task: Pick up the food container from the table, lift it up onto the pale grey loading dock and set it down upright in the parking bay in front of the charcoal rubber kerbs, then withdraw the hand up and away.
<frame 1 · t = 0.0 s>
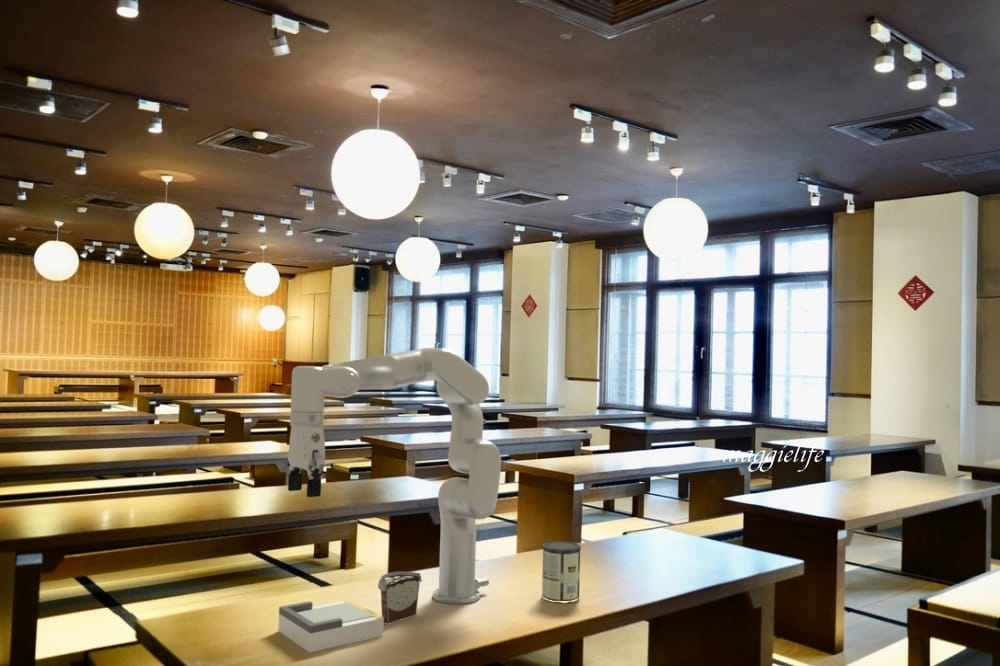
hand: (304, 493, 179), 31 cm above the table, tool pointing down, fingers open, 9 cm apart
loading dock: (330, 633, 176), on the table
coffee can: (560, 598, 208), on the table
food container: (393, 617, 189), on the table
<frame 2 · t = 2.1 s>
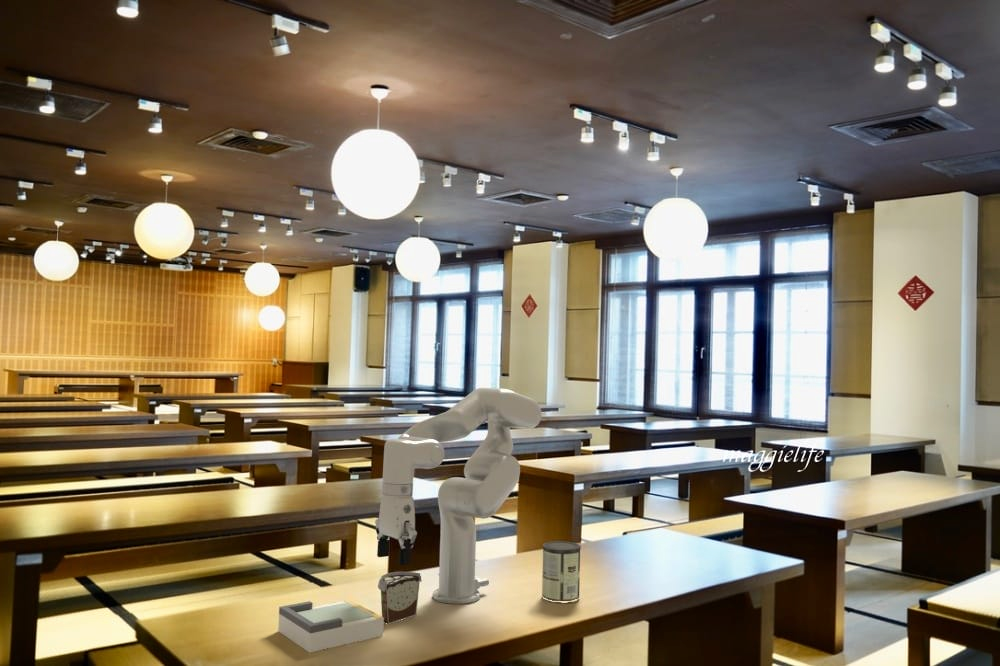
hand: (393, 560, 189), 14 cm above the table, tool pointing down, fingers open, 9 cm apart
nothing on the table moved.
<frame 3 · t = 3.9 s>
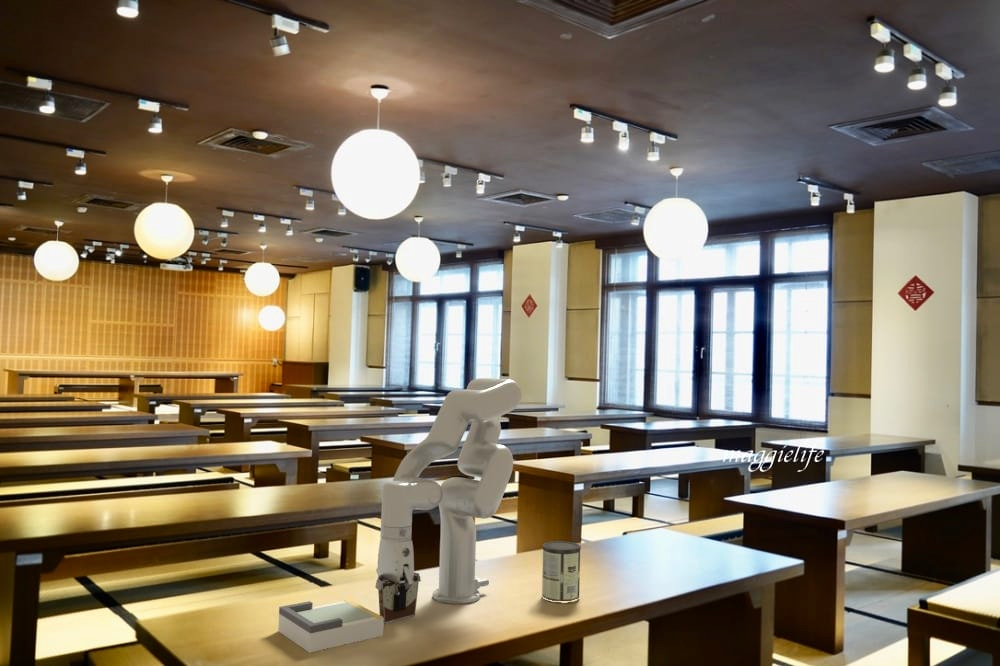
hand: (392, 606, 189), 2 cm above the table, tool pointing down, fingers closed on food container, 5 cm apart
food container: (392, 617, 189), on the table, touching gripper
everything else where it was.
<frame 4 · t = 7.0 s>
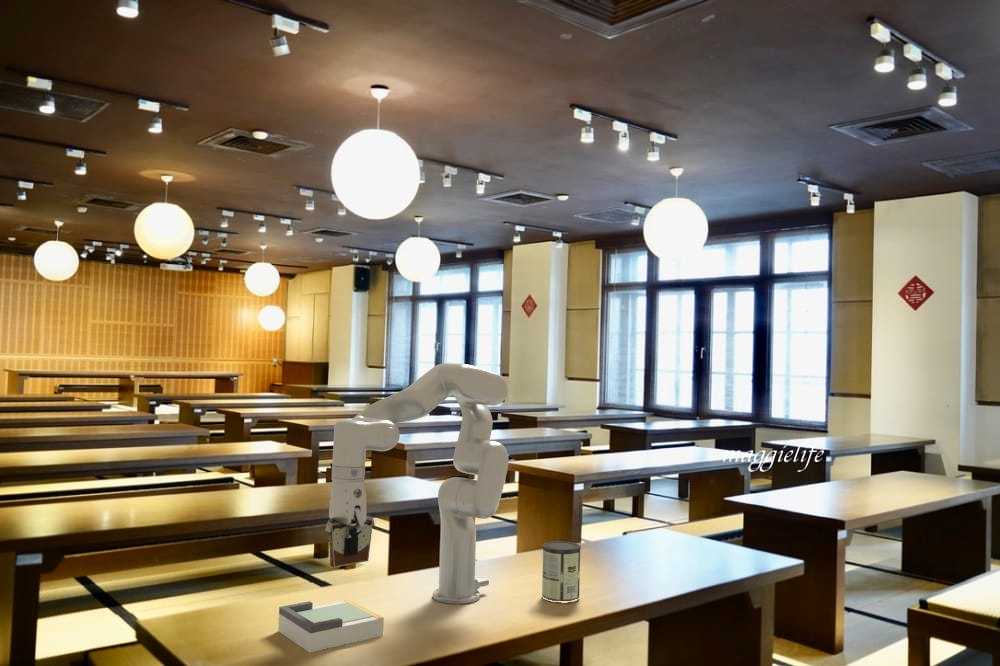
hand: (344, 551, 179), 18 cm above the table, tool pointing down, fingers closed on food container, 5 cm apart
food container: (343, 562, 179), point 15 cm above the table, touching gripper
everything else where it was.
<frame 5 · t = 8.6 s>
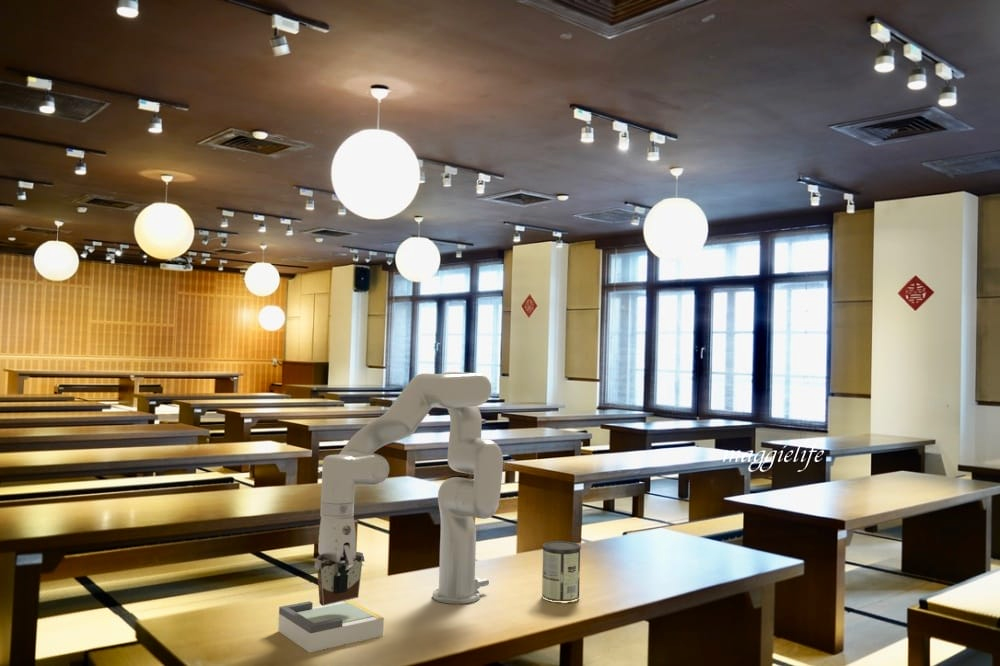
hand: (333, 588, 177), 10 cm above the table, tool pointing down, fingers closed on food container, 5 cm apart
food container: (333, 599, 177), point 7 cm above the table, touching gripper
everything else where it was.
when the fingers open (8 cm above the table, at t = 9.8 s): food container drops 1 cm, resting on loading dock.
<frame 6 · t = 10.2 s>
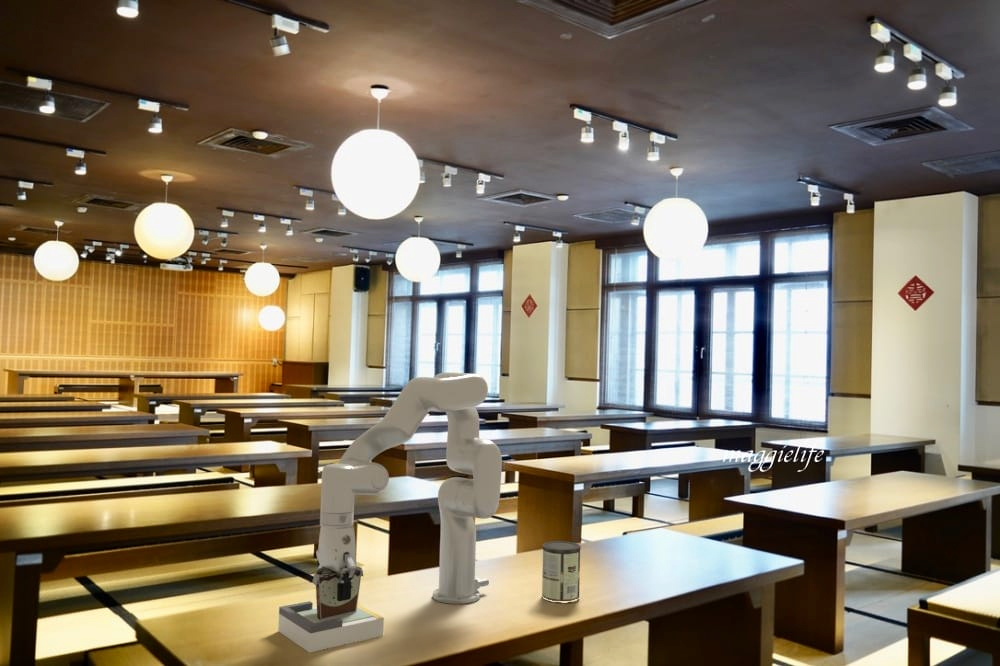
hand: (334, 594, 177), 9 cm above the table, tool pointing down, fingers open, 8 cm apart
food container: (331, 613, 178), point 4 cm above the table, touching loading dock
everything else where it was.
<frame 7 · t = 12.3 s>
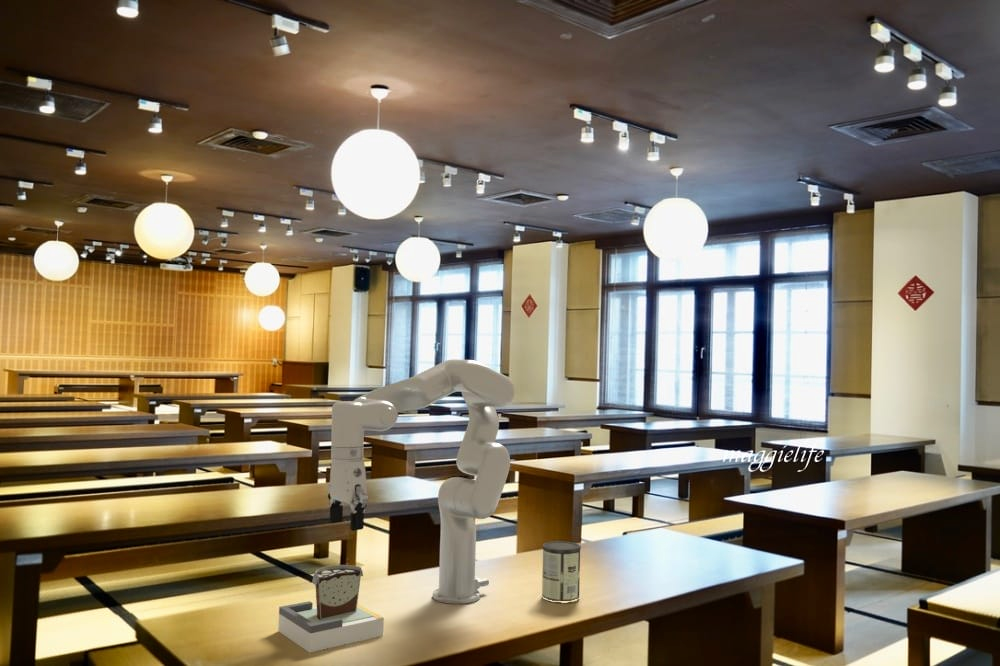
hand: (346, 526, 183), 23 cm above the table, tool pointing down, fingers open, 9 cm apart
nothing on the table moved.
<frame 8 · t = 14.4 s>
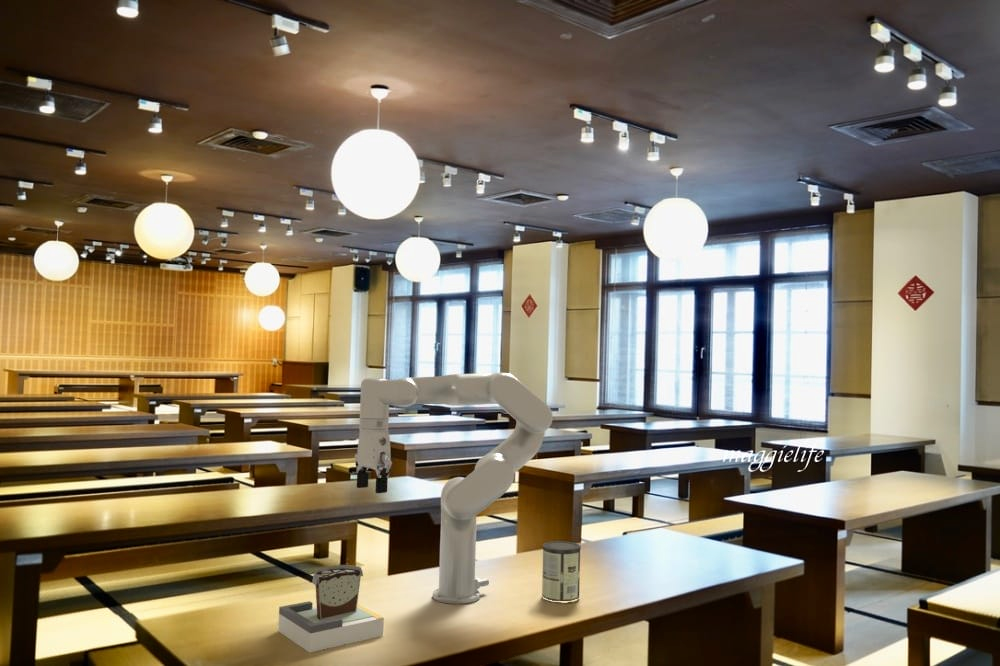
hand: (371, 490, 204), 28 cm above the table, tool pointing down, fingers open, 9 cm apart
nothing on the table moved.
at the end: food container inside the target area on the loading dock (1.4 cm from its centre), point 4.0 cm above the loading dock's base; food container tilted 0°; the gripper is holding nothing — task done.
